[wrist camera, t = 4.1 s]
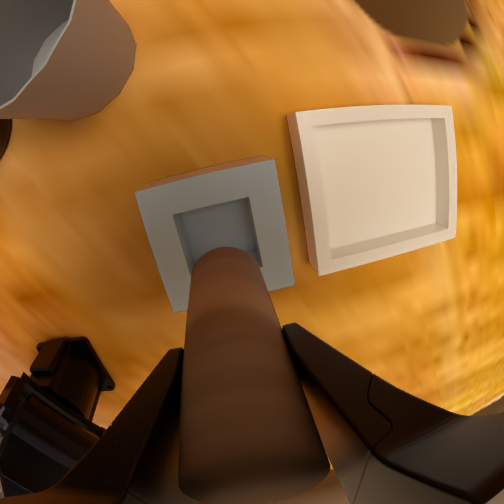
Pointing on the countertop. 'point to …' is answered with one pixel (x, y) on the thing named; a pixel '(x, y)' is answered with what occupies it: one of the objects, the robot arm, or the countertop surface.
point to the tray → (374, 181)
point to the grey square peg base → (216, 222)
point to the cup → (61, 58)
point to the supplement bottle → (4, 133)
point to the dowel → (241, 393)
